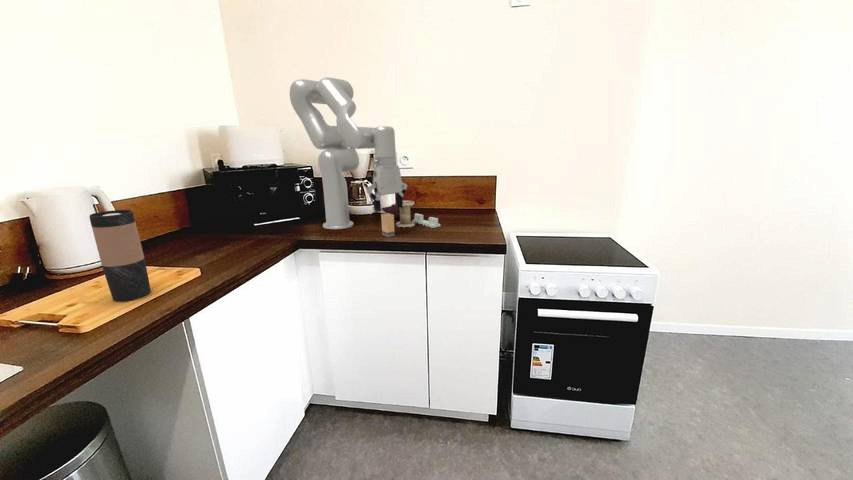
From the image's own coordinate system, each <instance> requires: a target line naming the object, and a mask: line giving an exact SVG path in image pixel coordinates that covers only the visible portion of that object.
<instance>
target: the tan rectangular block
mask: <svg viewBox="0 0 853 480" xmlns="http://www.w3.org/2000/svg"><path fill="white" fill-rule="evenodd" d="M380 216H381V219H380V220H381V235H382V236H386V237H388V238H389V237H392V236H395V235H396V234H395V219H394V215H393V214H389V213H381V214H380Z"/></svg>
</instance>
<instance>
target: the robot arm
mask: <svg viewBox="0 0 853 480" xmlns="http://www.w3.org/2000/svg"><path fill="white" fill-rule="evenodd" d="M353 98H354V89H353V87H352V85H351V84H350V82H349V81H348V80H345V79H340V78H336V77H335V78H334V77H324V78H321V79H319V80H318V81H317V80H312V79H307V78H305V79H302V78H301V79H297V80H294V81H293V82H291V84H290V87H289V100H290V104H291V106H292V108H293V110H294V112H295V113H296V115H297V116H298V118H299V120H300V121H301V124H302V125H303V127H304V129H305V131H306V134H307V135H308V137H309V140H310V141H311V143H312V146H314V148H316V149H318V150H323V151H321V152H320V153H319V155H318V157H317V158H318V159H317V163H318V167H319V171H320V175H321V178H322V179H321V180H322V181H321V182H322V188H323V201H324V210H325V222H323V224H322V227H323V228H324V229H327V230H342V229H349V228H353V226H354V222H353V221H352V220H350V210H349V197H348V183H347V180H346V178H345V176H344V175H343V173H350V172H354V171H355V170H357V169H358V168H359V165H360V158H359V154H358V152H357V150H361V149H362V150H363V149H364V150H365V149H366V150H367V149H373V150H374V159H373V160H372V164H374V165H375V166H374V167H373V176H372V177H373V180H372V182H373V183H372V184H371V185H369V186H368V187H367V188H366V192H367V194H368V197H370V198H371V200H373V208H374V211H375V212H381V211H382V209H381V208H382V206H381V205H382V204H381V200H380V198H381V197H382V196H383V195H385V196H386V195H392V194H394V195H396V196H395V202H396V206H397V207H399V208H402V207H403V206H402V205H403V201H404V200H403V197H405V196H404V195H405V193H406V192H407V191H406V190H407V188H408V184H407V183H405V182H403V181H402V175H401V169H400V167H399V165H397V152H396V134H395V129H394V127H392V126H376V127H370V126H368V127H367V126H357V124H355V123H354V122H353V120H352V119H351V118H352V117H353V116H354V114H355V113H356V111H357V110H356V109H357V106H356V103H355V101H354V100H353ZM313 104H317V105H327V106H328V107H329V109H330V111H331V112H332V113H333V115H335V117H336V119H335V122H336V125H329V124H327V122H326V120H325V118H324V116H323V114H322V113H321V111H320V110H319V109H318V108H317V107H316V106H314V105H313ZM373 192H374V193H373Z"/></svg>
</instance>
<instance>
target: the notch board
mask: <svg viewBox="0 0 853 480" xmlns="http://www.w3.org/2000/svg"><path fill="white" fill-rule="evenodd" d="M413 215H414V218H413V219H412V222H415V224H417V223H418V225H421V224H422V225H421V226H424V225H425V227H428V228H429V227H430V228H432V229H434V228H439V227H441V223H439V218H438V217H433V216H429V217H428V219H427V220H426V219H424V214H421V213H414V214H413Z"/></svg>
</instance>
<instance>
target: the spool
mask: <svg viewBox="0 0 853 480" xmlns="http://www.w3.org/2000/svg"><path fill="white" fill-rule="evenodd" d="M394 204H395V205H396V201H394ZM402 206H403V207H402V208H400V217H399V221H397V222H396V223H395V227H397V228H400V227H403V229H406V228H405V227H409V228H413V227H415V226H416V223H415V222H412V221H411V207H413V206H415V201H414V200H403V205H402Z"/></svg>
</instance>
